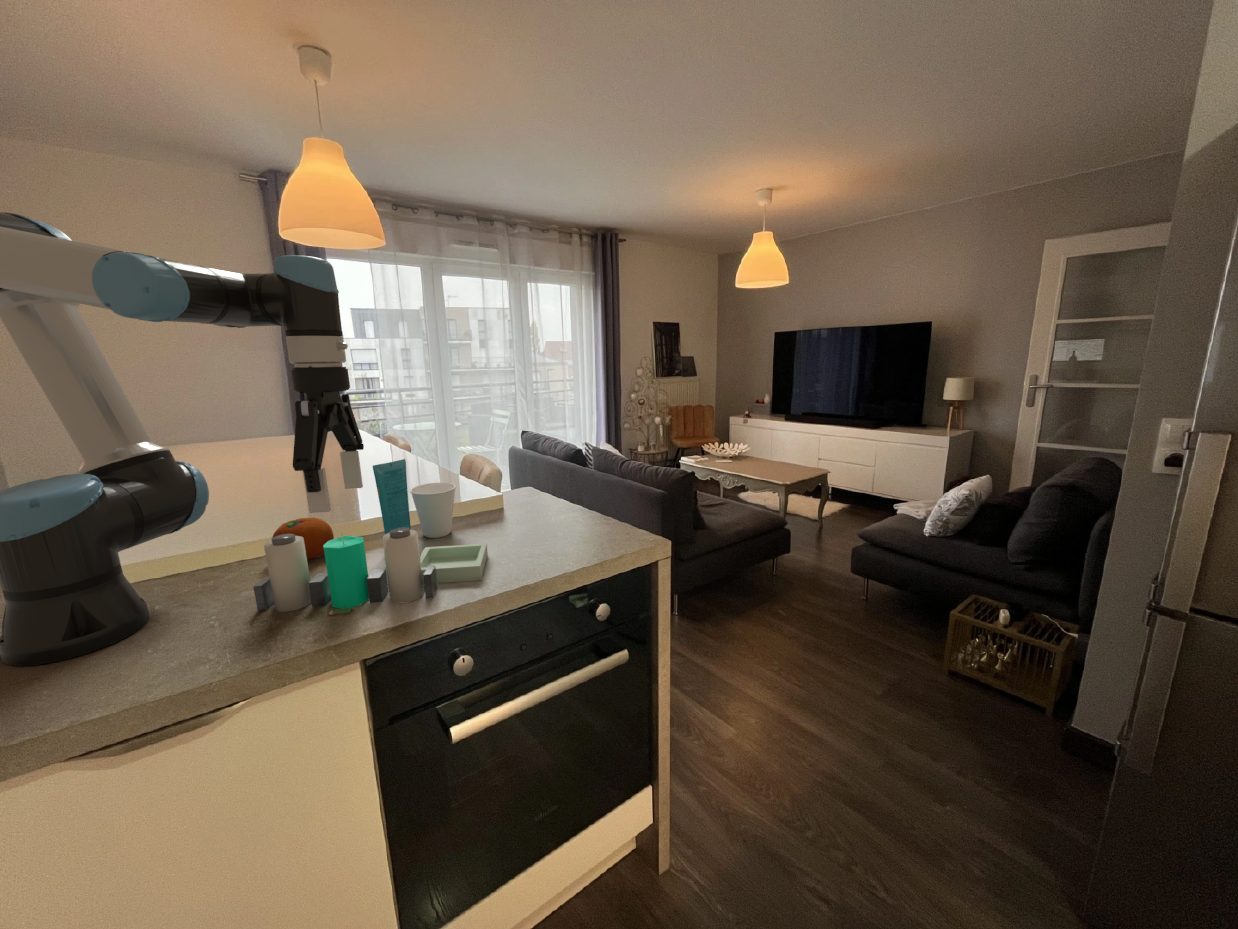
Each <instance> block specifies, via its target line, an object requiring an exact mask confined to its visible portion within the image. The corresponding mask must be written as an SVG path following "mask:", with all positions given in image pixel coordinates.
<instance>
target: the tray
mask: <svg viewBox="0 0 1238 929" xmlns="http://www.w3.org/2000/svg"><path fill="white" fill-rule="evenodd" d="M488 558H489V555H488V543H475V544H458V545H441V546H425V548H424V549H423V550H422V553H420V561H421V571H422V581H423V585H424V577H423V574H424V573H425V571H426V569H427V567H428V566H435V568H436V579H437V584H446V583H459V582H461V583H462V582H474V581H482V579H483V574H484V571H485V568H486V564H487V560H488Z"/></svg>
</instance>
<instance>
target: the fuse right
mask: <svg viewBox="0 0 1238 929" xmlns="http://www.w3.org/2000/svg"><path fill="white" fill-rule="evenodd" d="M419 543H420V542H419V536H418V531H417V530H413V529H411V530H410V528H406V527H402V528H396V529H393V530H391V531H390V532H389V533H387V534H386V535H385V534H384V535H383V536H382V544H383V545H382V546H383V551H384V552H383V553H384V560H385V569H386V573H387V581H388V590H389V592H388V595H389V600H390V601H391V602H393V603H396V604H397V603H398V604H404V603H405V604H406V603H410V602H414V601H417V600H418V599H420V598H421V597H422V596H423V595H424V594H425V589H424V584H423V581H422V571H421V561H420V555H421V553H420V545H419Z"/></svg>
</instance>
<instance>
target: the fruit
mask: <svg viewBox="0 0 1238 929" xmlns="http://www.w3.org/2000/svg"><path fill="white" fill-rule="evenodd" d="M282 534H295V536H301V537H303V538H304V544H305V551H306V557H307V561H310V560H313V559H316V558H318V557H322V556H323V555H325V554H324V547H323V545H324V544H325V543H327V542H328V541H330V540H332V539H335V537H334V536H335V535H334V531H333V529H332V527H331V526H330V523H328V522H326V521H325V520H323V519H322V518H317V517H302V518H301V517H300V518H296V519H292V520H288V521H287V522H284V523H283V524H281V525H280V526H278V528H277V529H276V530H275V531H274V533H273V535H272V537H271V539H272V538H273V537H275V536H278V535H282Z"/></svg>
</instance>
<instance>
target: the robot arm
mask: <svg viewBox="0 0 1238 929" xmlns="http://www.w3.org/2000/svg"><path fill="white" fill-rule="evenodd" d="M339 292H340V291H339V289H338V285H337V281H336V275H335V270H334V267H333V265H332V263H331V262H329V261H328V260H326V259H324V258H320V257H315V256H309V255H299V254H297V255H296V254H285V255H281V256H277V257H275V259H274V268H273V272H270V273H268V272H267V273H241V272H235V271H229V270H224V269H220V268H213V267H209V266H208V267H207V266H202V265H197V264H191V263H186V262H180V261H177V260H172V259H166V258H161V257H157V256H155V255H154V256H153V255H149V254H148V255H147V254H144V253H139V252H132V251H131V252H128V251H124V250H120V249H115V248H111V247H104V246H100V245H96V244H90V243H84V242H79V241H75V240H72V239H71V238H70V237H69V236H68V235H67V234H66V233H64V232H63V231H62V230H60V229H58V228H56V227H55V226H53V225H50V224H48V223H46V222H44V221H40V220H37V219H32V218H29V217H27V216H24V215H22V214H19V213H12V212H1V211H0V321H1V323H3V325H4V327H5V329H6V331H7V332H8V334H9V336H10V337H11V339H12V341H13V343H14V344H15V345H16V347H17V349H18V352H20V354H21V356H22V358H23V360H24V361H25V363H26V364H27V366H28V368H29V369H30V371H31V373H32V374H33V376H34V378H35V380H36V381H37V383H38V385H39V386H40V388H41V390H42V391H43V393H44V395H45V396H46V398H47V400H48V402H49V403H50V405H51V407H52V408H53V410H54V412H55V413H56V415H57V417H58V418H59V420H60V421H61V424H62V426H63V427H64V429H65V431H66V432H67V434H68V435H69V437H70V439H71V441H72V442H73V444H74V446H75V447H76V449H77V451H78V452H79V454H80V456H81V457H82V459H83V461H84V463H83V466H82V467H81V468H80V470H79V472H78V473H73V474H64V475H58V476H53V477H49V478H44V479H43V478H41V479H36V480H31V481H27V482H24V483H20V484H17V485H13V486H11V487H8V488H5V489H3V490H0V589H1V592H2V595H3V598H4V602H5V607H4V612H3V617H2V622H1V623H2V624H1V635H0V658H1V660H2V662H3V664H6V665H10V666H18V667H19V666H21V667H22V666H36V665H43V664H49V663H55V662H59V661H63V660H67V659H71V658H74V657H78V656H83V655H85V654H89V653H91V652H95V651H97V650H100V649H103V648H106V647H107V646H110V645H113V644H114V643H116V642H119V641H121V640H124V639H126V638H127V637H129V636H131V635H133V634H134V633H136V632H137V631H138V630H141V629H142V628H143V627H144V626H145V625H146V624H147V623H148V622H149V620H150V616H151V615H150V612H149V607H148V604H147V603H146V601H145V599H143V597H140V595H139V594H138V592H137V591H136V589H135V588H134V587H133V586H132V584H131V582H129V580H128V579H127V577H126V576H125V574H124V572H123V569H122V564H121V560H120V556H119V552H123V551H124V550H127V549H130V548H133V547H135V546H138V545H141V544H144V543H146V542H150V541H152V540H155V539H158V538H159V537H163V536H165V535H166V536H167V535H169V534H173V533H175V532H179V531H180V530H182V529H183V528H185V527H187V526H190V525H192V524H194V523H195V522H197V521H199V519H200V518H201V517H202V516H203V515H204V514H205V512H206V509H207V508H206V507H207V505H208V504H209V500H210V491H209V486H208V482H207V481H206V477H205V476H204V475H203V473H202V472H201V471H200V470H199V469H198V467H196V466H192V464H191V463H188V462H185V461H179V460H176V459H175V457H174V456H173V454H172V451H171V450H170V449H169V448H167V447H165V446H163V445H162V446H161V445H158V444H156V443H154V442H153V440H152V439H151V437H150V436H149V434H148V431H147V430H146V429H145V427H144V425H143V423H142V421H141V419H140V418H139V415H138V414H137V413H136V410H135V409H134V407H133V406H132V403H131V402H130V400H129V398H128V396H127V394H126V392H125V391H124V389H123V388H122V386H121V384H120V382H119V381H118V379H117V377H116V375H115V373H114V371H113V370H112V367H111V366H110V364H109V363H108V361H107V359H106V357H105V355H104V354H103V351H102V350H101V348H100V346H99V344H98V343H97V341H96V339H95V338H94V335H93V334H92V332H91V330H90V329H89V327H88V325H87V322H86V321H85V320H84V318H83V316H82V314H81V312H80V311H79V309H78V307H79V306H80V304H81V305H85V306H91V307H96V308H101V309H105V310H110V311H112V313H114V314H116V315H118V316H121V317H123V318H128V319H134V320H139V321H147V322H153V323H161V322H175V323H176V322H177V323H191V324H192V323H195V324H201V325H202V324H203V325H204V324H206V325H208V324H209V325H214V326H217V327H227V328H238V329H240V328H246V327H275V326H277V327H278V326H279V327H283V328H284V333H285V339H286V340H285V341H286V347H287V348H286V350H287V355H288V362H289V363H290V364H292V365H294V367H292V369H291V370H290V372H291V378H292V385H293V390H294V391H295V392H296V393H299V394H300V393H301V394H305V395H306V400H295V403H294V406H295V407H294V408H295V416H296V417H295V427H294V428H295V429H294V442H293V455H292V468H293V469H294V471H295V472H302V474H303V481H304V485H305V486H304V488H305V494H306V500H307V506H308V512H309V513H310V514H315V513H316V514H319V513H330V512H332V509H331V501H330V495H329V494H330V493H329V487H328V482H327V475H326V474H327V473H326V468H325V467H324V468H322V465H323V464H322V463H323V459H324V454H325V449H326V448H325V447H326V443H327V438H328V433H329V432H330V431H331V432H332V434H333V435H334V438H335V439H336V441H337V443H338V444H339V446H340V448H341V449H342V451H340V452H339V455H340V463H341V464H340V465H341V469H342V476H343V484H344V489H345V490H347V489H362V488H364V487H363V486H364V484H363V476H362V471H361V462H360V456H359V455H360V454H359V451H361V450H362V451H363V450H364V446H365V445H364V443H363V439H362V438H363V437H362V435H361V433H360V430H359V426H358V424H357V420H356V417H355V414H354V412H353V409H352V405H351V398H350V395H349V393H340V392H346V391H349V390H350V388H351V384H350V382H351V381H350V377H349V376H350V375H349V369H348V368H347V367H346V366H343V365H344V364H345V363H346V362H347V356H346V351H345V350H347V349H348V347H349V345H348V343H347V342H345V341H344V334H343V333H344V332H343V328H342V320H341V311H340V302H339V301H340V299H339ZM343 363H344V364H343Z"/></svg>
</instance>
